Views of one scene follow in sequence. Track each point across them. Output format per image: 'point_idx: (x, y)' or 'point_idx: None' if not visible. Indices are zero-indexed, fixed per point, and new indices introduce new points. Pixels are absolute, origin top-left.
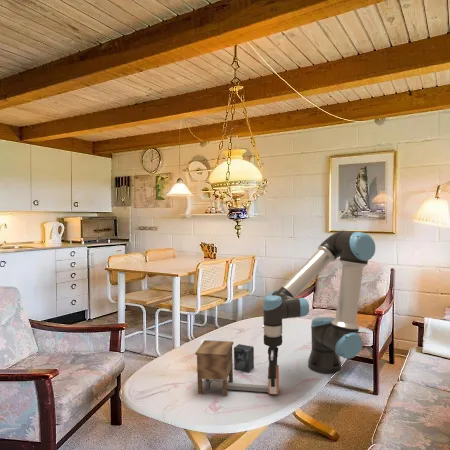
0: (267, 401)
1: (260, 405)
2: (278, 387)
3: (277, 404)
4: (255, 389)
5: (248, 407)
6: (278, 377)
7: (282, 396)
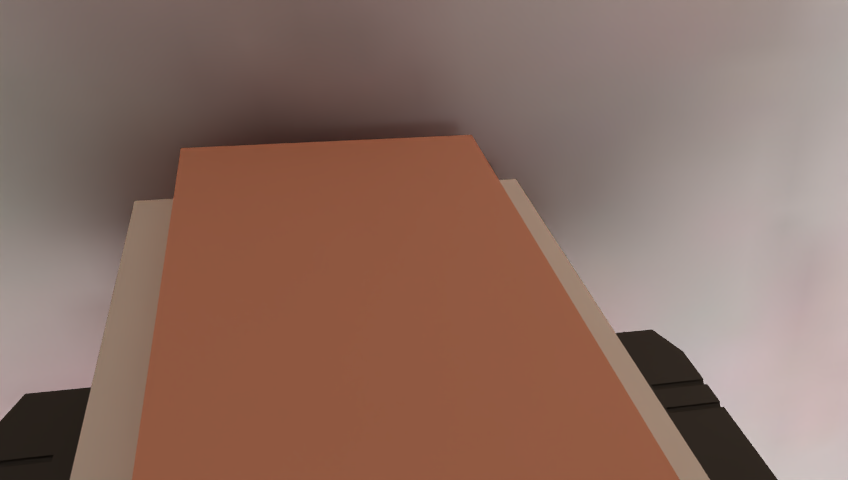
0: (689, 284)
1: (804, 357)
2: (407, 201)
3: (819, 98)
4: None
5: (829, 476)
6: (393, 400)
7: (481, 18)
